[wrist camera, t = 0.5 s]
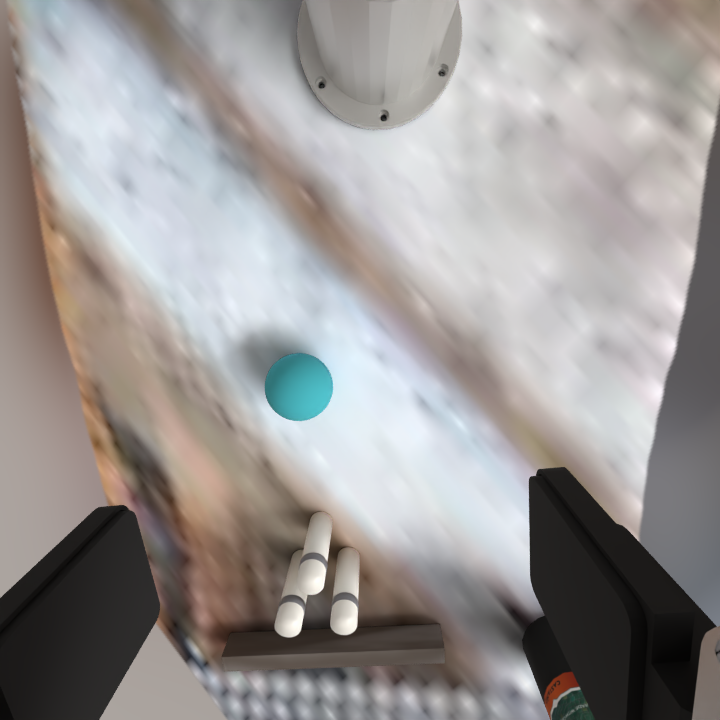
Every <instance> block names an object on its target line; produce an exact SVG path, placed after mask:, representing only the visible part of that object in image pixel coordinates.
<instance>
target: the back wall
mask: <svg viewBox="0 0 720 720" xmlns="http://www.w3.org/2000/svg"><path fill="white" fill-rule="evenodd" d="M222 662H223V667H224V672H227V671H253V670H279V669H306V668H332V667H358V666H384V665H410V664H436V663H445V653H444V644H443V638H442V633H441V627H440V624H428V625H405V626H381V627H357V628H356V630H355V631H354V632H353V633H351V634H349V635H340V634H337V633H335V632H334V631H333V630H332V629H310V630H301V631H300V633H299V634H298V635H296V636H294V637H283V636H281V635H279V634H278V633H277V632H276V631H263V632H239V633H230V635H229V638H228V641H227V643H226V646H225V649H224V652H223V654H222Z"/></svg>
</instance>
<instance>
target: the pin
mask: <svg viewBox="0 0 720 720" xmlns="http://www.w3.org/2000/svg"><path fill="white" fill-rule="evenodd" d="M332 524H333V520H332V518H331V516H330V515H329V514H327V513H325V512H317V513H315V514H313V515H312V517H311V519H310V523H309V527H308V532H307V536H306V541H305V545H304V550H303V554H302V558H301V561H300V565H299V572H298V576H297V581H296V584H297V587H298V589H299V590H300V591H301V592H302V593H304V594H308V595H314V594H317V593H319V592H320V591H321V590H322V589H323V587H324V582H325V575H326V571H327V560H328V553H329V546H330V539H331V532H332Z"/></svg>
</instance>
